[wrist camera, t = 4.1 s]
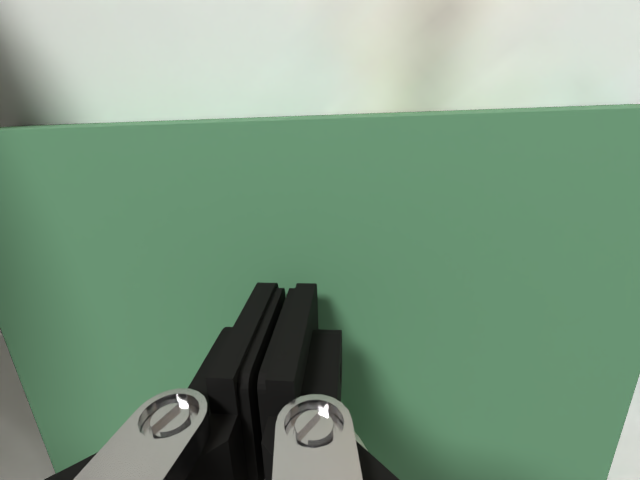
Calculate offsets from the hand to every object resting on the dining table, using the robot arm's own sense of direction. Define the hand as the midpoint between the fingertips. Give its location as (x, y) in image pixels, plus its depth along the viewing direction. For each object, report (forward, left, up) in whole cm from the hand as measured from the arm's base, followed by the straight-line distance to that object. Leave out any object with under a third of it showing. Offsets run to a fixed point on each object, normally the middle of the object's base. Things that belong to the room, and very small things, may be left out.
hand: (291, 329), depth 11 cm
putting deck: (0, +9, -4) cm, 10 cm away
